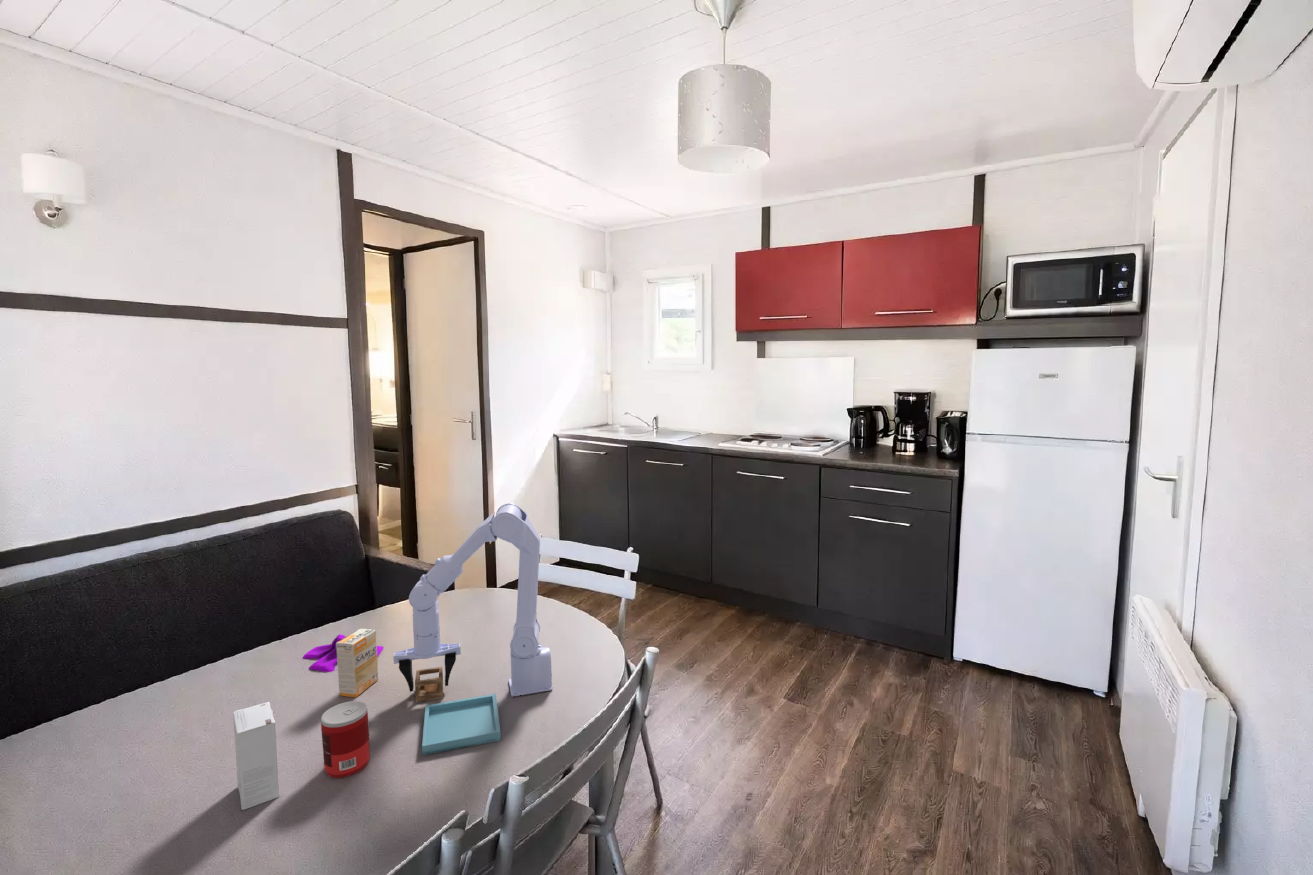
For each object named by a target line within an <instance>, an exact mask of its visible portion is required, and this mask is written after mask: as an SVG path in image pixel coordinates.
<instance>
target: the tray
mask: <svg viewBox="0 0 1313 875" xmlns="http://www.w3.org/2000/svg"><path fill="white" fill-rule="evenodd" d="M496 694H497V693H491V694H486V695H479V696H473V697H467V698H462V699H456V700H450V701H443V702H437V703H431V704H425V707H424V708H425V709H424V719H423V720H424V722H423V729H422V730H423V732H422V744H421V750H422V753H421V754H422V756H427V755H433V754H438V753H443V752H448V751H453V750H458V749H463V748H469V747H474V746H479V745H484V744H489V743H495V742H500V741H501V728H500V727H501V726H500V718H499V710H498V702H497V695H496Z"/></svg>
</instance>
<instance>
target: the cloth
mask: <svg viewBox="0 0 1313 875" xmlns="http://www.w3.org/2000/svg"><path fill="white" fill-rule="evenodd" d="M345 637H346V635H344V634H341V633H339V634H338V635H336V637H335V638H334V639H333V640H332V642H331V643H330V644H324V645H323V644H322V645H319V646H316V647H313V648H312V649H310V650H308V651H307V652H306V653H305V654H304V655H303V656H302V660H307V659H309V660H316V661H314V662H313V663H312V664H311V665H310V666H309V667H308V670H312V671H318V672H324V673H332V672H335V671H336V670H335V669H336V667H337V666H338V664H337V647H336V643H337V642H339V641H340V640H342V639H344V638H345ZM383 650H384V646H383V645H377V658H378V657H379V656H380V654H381V653H382V651H383Z"/></svg>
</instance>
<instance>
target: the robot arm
mask: <svg viewBox="0 0 1313 875" xmlns="http://www.w3.org/2000/svg"><path fill="white" fill-rule="evenodd" d="M497 539H500V540H502V541H505V542H507V543H510V544H511V545H513V546H514V547H516V548H517V549H518V551H519V556H518V558H519V559H518V561H519V562H518V581H517V602H516V618H515V623H514V626H513V634H512V637H511V641H510V643H509V646H510V677H511V678H509V679H508V685H509V690H510V691H509V692H510V696H511V697H512V698H514V696H515V697H520V695H521V696H526V695H531V694H537V693H544V692H548V691H549V692H550V691H552V690H553V681H552V680H553V679H552V676H553V675H552V674H553V672H552V656H551V650H550V647H549V646H542V645H541V644H540V642H539V636H540V631H541V626H540V623H539V621H538V618H537V616H538V615H537V614H538V611H537V608H538V607H537V605H538V585H539V584H538V583H539V569H540V552H541V551H540V550H541V548H540V546H541V538H540V535H539V533H538V532H537V530H536V529H535V527H534V525H533V523H532V522H531V519H530V518H529V516H528V513H527V512H526V511H525V510H523V509H522V507H520V506H518V505H517V504H515V503H511V502H510V503H504V504H502V505H501V506H499V508H498V509H497V511H496V512H493V513H491V514H490V515H488V517H487V518H486V519H484V521H482V522H481V523H480V524H479V525H478V526H477V527H476V529H475V530H474V531H473V532H472V533H471V534H470V535H469V536H468V538H467V539H466V540H465V541H464V542H463V543H462V544H461V545H460V546H459V548H457V550H456V551H455V552H454V553H453V554H450V555H449V554H447V555H443V556H442V557H441V558H440V557H438V558H437V559H436V560H434V562H433V563H434V565H433V567H432V568H430V570H429V571H428V572H427V573H426V574H422V575H421V576H420V578H419V580H418V581H417V583H416V584H415V585H414V586H413V588H412V589H411V591H410V593H409V596H408V602H409V605H410V606H411V607H412V628H413V629H412V630H413V631H412V632H413V647H411V648H407V649H404V650H399V651H394V652H393V655H392V656H393V657H392V658H393V664H398V669H399V671H400V673H401V674H402V675H403V677H404V679H405V681H406V683H407V686H408V690H409V692H410V693H412V692H414V689H415V682H414V677H413V661H414V660H426V659H431V658H436V657H443V656H444V673H445V674H444V675H445V676H444V686H445V687H448V686H449V681H450V675H451V672H452V670H453V667H454V665H455V663H456V661H457V655H459V656H460V655H462V653H461V652H462V650H461V642H459V643H441V628H440V627H441V626H440V610H439V599H438V598H439V597H440V594H443V593H445V591H446V590H447V589H448V588H449V587H450V586H451V585H452V584H453V583H454V582H455V581H456V580H457V579H458V578H459V577H460V575H462V573H463V572H464V568H463V566H464V565H463V564H464V563H466V562H467V560H468V559H470V558H471V557H472V556H473V555H474V554H475V553H476V552H477V551H478V550H479V549H480V548H481V547H482V546H483V545H484V544H485V543H486V542H487V543H488V542H489V543H491V542H495V541H497Z"/></svg>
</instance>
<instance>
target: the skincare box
mask: <svg viewBox="0 0 1313 875" xmlns="http://www.w3.org/2000/svg"><path fill="white" fill-rule="evenodd" d="M273 714H274V711H273V709H272V708H271V703H270V701H267V702H262V703H258V704H256V705H252V706H249V707H245V708H242V709H237V710H235V711H233V713H232V716H233V729H234V745H235V761H236V780H237V783H236V784H237V788H238V791H239V797H240V810H241V811H244V810H248V809H250V808H253V807H255V806H258V805H260V804H263V803H267V802H269V801H272V800H274V799H277V798H279V797H280V783H279V782H280V780H279V764H278V763H279V761H278V749H277V748H278V747H277V746H278V745H277V729H276V728H277V726H276V721H275V718H274V715H273Z"/></svg>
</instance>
